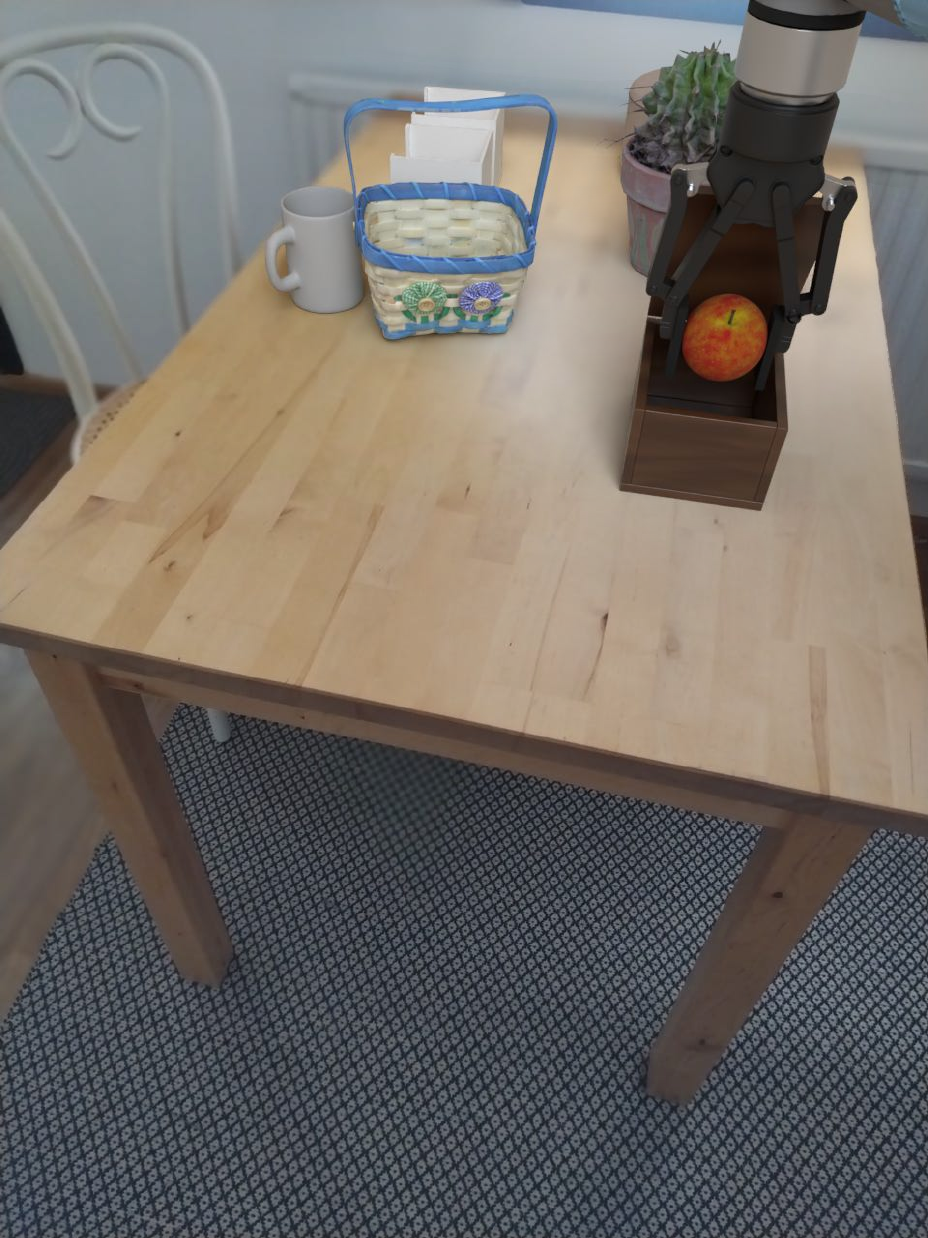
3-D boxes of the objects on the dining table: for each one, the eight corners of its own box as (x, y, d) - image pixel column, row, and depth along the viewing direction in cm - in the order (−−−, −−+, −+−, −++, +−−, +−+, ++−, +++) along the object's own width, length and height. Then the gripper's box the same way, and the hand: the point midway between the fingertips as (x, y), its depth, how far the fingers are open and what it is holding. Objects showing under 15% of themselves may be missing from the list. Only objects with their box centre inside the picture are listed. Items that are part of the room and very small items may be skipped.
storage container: (479, 254, 116) (482, 163, 108) (393, 247, 117) (389, 156, 109) (501, 175, 133) (505, 91, 125) (426, 169, 134) (425, 86, 126)
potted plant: (565, 239, 120) (588, 15, 101) (704, 225, 123) (750, 7, 105) (614, 307, 108) (650, 69, 89) (766, 290, 111) (831, 57, 93)
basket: (363, 367, 98) (347, 131, 81) (352, 291, 109) (335, 69, 92) (554, 354, 101) (577, 122, 83) (524, 281, 112) (539, 63, 94)
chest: (761, 511, 83) (788, 429, 77) (619, 490, 85) (634, 408, 78) (758, 412, 94) (782, 332, 87) (632, 395, 95) (646, 316, 89)
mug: (332, 271, 112) (324, 178, 104) (379, 296, 108) (374, 201, 100) (252, 305, 106) (237, 209, 98) (298, 333, 102) (286, 235, 94)
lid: (839, 207, 71) (848, 107, 74) (671, 190, 73) (686, 92, 75) (783, 332, 87) (792, 246, 90) (647, 315, 89) (660, 232, 91)
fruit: (751, 398, 80) (772, 361, 72) (670, 387, 81) (683, 349, 73) (762, 323, 81) (785, 278, 73) (682, 313, 82) (696, 267, 74)
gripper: (928, 81, 65) (828, 367, 82) (645, 56, 68) (604, 339, 84) (944, 118, 60) (833, 415, 77) (638, 90, 62) (596, 384, 79)
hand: (714, 375), depth 81 cm, fingers closed on fruit, 7 cm apart
